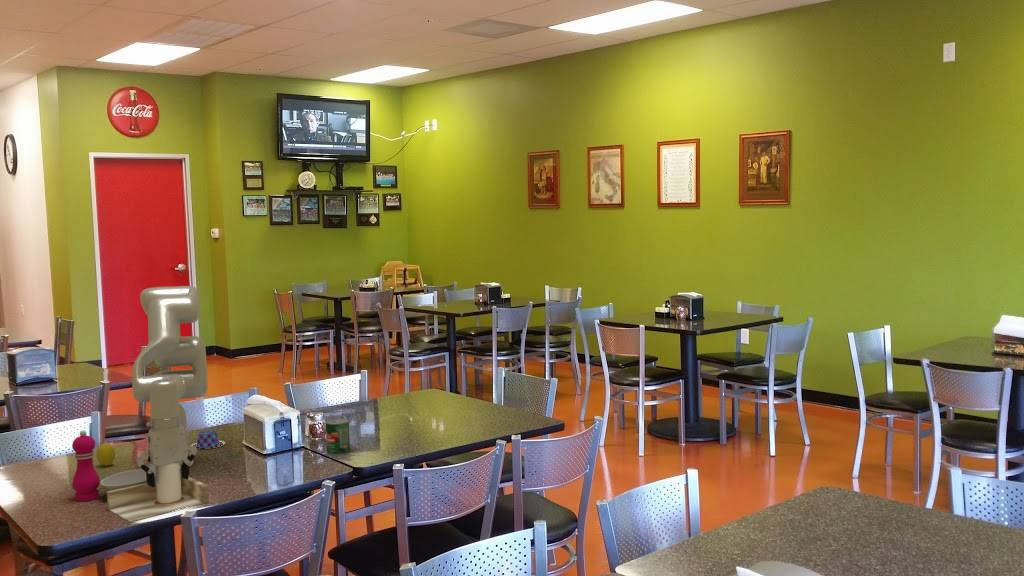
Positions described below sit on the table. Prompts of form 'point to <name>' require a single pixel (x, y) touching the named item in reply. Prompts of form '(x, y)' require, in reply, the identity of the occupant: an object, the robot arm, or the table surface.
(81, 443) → the pepper mill
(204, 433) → the blue patterned low dome
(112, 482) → the dish
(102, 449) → the lemon
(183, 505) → the gold shallow open box
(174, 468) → the can
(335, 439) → the canned tomato
